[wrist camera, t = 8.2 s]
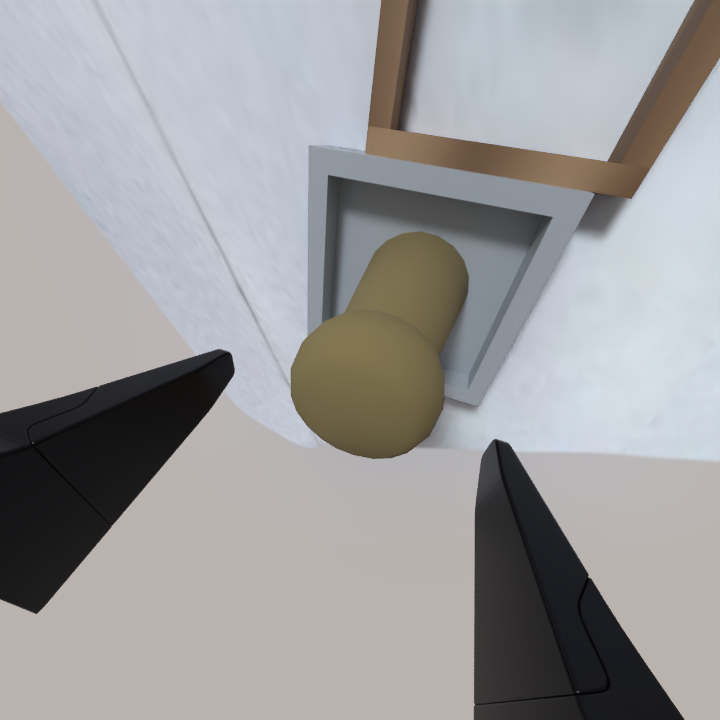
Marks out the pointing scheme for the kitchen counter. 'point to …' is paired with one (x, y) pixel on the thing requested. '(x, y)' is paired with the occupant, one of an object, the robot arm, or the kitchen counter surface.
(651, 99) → the wooden picture frame
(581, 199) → the tray
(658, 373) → the kitchen counter surface
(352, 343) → the cork
